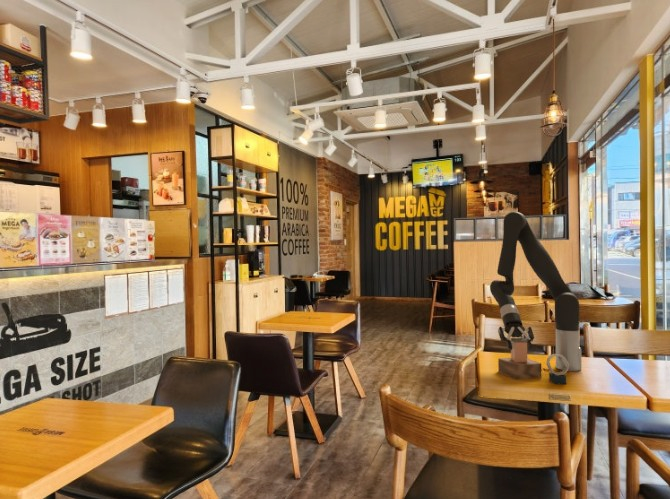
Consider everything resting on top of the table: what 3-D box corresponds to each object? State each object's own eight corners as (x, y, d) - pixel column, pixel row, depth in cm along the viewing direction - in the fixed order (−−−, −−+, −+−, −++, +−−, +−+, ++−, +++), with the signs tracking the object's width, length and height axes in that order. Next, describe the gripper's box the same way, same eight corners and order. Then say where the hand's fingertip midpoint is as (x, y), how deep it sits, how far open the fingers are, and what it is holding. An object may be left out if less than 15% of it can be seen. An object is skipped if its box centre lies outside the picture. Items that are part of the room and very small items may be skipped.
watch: (571, 384, 177) (571, 356, 177) (550, 384, 177) (549, 355, 177) (565, 380, 182) (565, 352, 182) (544, 379, 183) (544, 352, 183)
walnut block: (522, 370, 198) (522, 356, 198) (541, 378, 187) (541, 363, 187) (498, 372, 196) (498, 358, 195) (515, 380, 184) (515, 365, 184)
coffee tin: (523, 359, 194) (522, 338, 194) (527, 362, 189) (527, 340, 189) (510, 359, 194) (510, 338, 194) (515, 362, 189) (514, 340, 189)
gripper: (496, 311, 199) (505, 344, 187) (529, 311, 198) (540, 344, 187) (492, 321, 204) (501, 353, 192) (524, 321, 204) (535, 353, 192)
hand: (520, 348), depth 190 cm, fingers open, 7 cm apart
